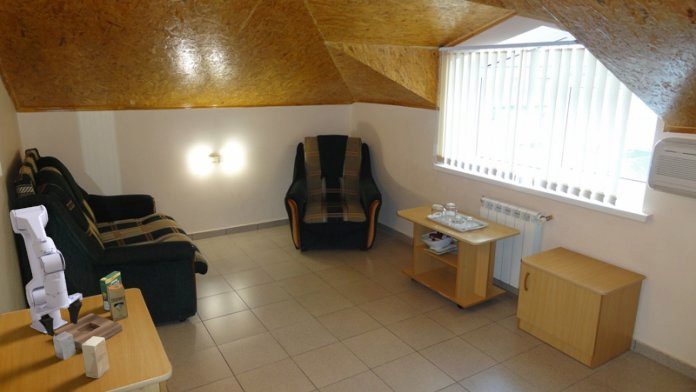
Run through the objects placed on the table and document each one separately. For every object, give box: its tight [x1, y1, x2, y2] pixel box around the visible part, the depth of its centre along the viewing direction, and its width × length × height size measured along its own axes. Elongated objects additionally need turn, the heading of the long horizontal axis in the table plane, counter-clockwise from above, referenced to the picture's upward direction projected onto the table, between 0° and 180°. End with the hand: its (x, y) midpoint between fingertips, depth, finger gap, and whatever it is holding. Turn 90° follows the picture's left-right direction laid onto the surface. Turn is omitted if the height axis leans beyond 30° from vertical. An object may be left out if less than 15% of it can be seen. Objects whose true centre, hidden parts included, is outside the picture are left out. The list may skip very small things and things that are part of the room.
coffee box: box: [99, 270, 123, 312], centre depth 183 cm, size 8×3×13 cm, turn 163°
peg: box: [52, 331, 77, 361], centre depth 154 cm, size 4×4×7 cm
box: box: [81, 336, 110, 379], centre depth 145 cm, size 5×4×11 cm
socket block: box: [54, 312, 123, 351], centre depth 166 cm, size 16×14×2 cm
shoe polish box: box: [107, 283, 129, 322], centre depth 176 cm, size 5×5×12 cm
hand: (63, 329), depth 153 cm, fingers open, 7 cm apart
